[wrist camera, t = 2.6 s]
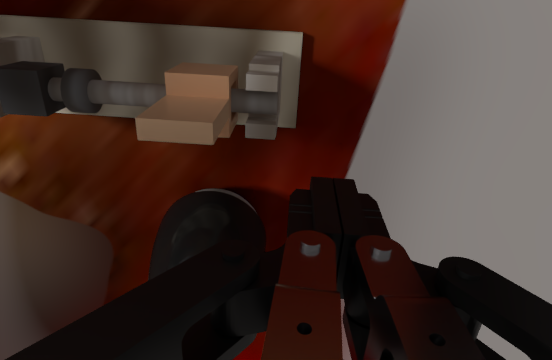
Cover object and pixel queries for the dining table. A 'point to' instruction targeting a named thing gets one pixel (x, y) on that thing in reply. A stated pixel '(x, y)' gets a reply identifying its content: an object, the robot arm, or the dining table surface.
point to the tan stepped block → (192, 106)
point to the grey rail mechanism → (142, 68)
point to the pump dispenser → (204, 227)
